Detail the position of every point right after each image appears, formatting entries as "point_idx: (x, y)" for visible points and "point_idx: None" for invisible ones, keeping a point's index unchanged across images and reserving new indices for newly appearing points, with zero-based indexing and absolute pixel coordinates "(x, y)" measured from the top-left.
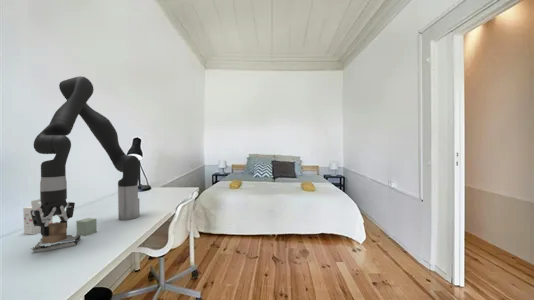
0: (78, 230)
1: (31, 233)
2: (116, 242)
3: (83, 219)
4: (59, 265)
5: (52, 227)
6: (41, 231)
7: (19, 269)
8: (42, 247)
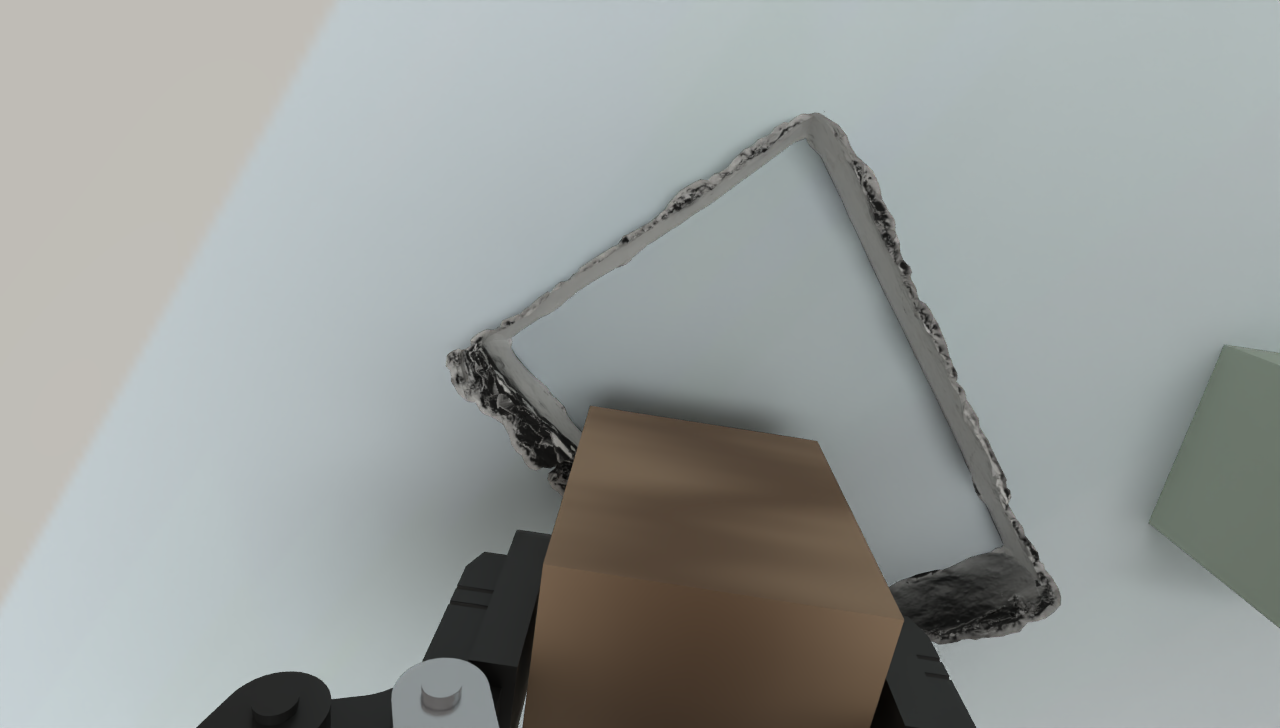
0: (1271, 416)
1: None
2: None
3: None
4: None
5: None
6: (446, 620)
7: (132, 610)
8: (557, 426)
